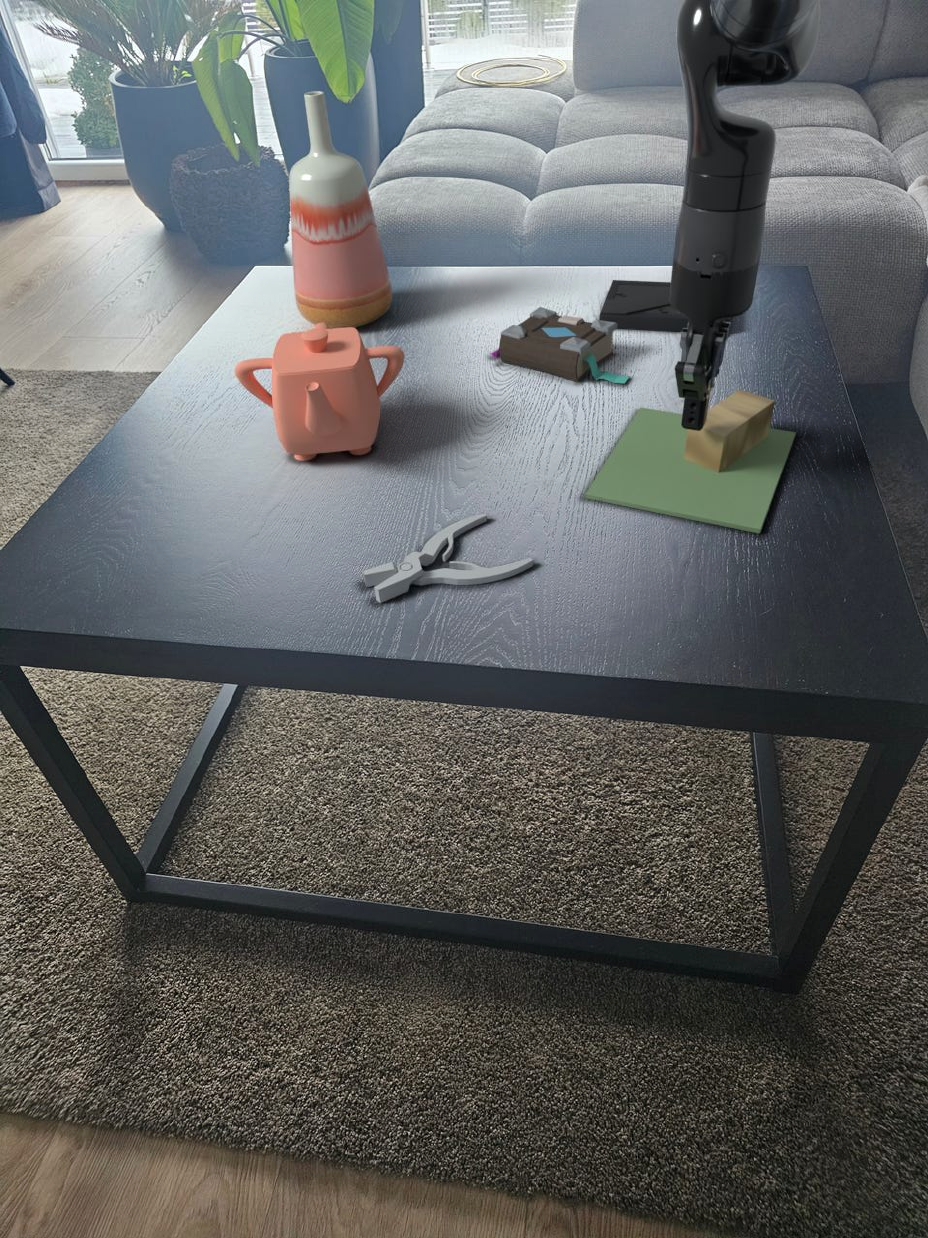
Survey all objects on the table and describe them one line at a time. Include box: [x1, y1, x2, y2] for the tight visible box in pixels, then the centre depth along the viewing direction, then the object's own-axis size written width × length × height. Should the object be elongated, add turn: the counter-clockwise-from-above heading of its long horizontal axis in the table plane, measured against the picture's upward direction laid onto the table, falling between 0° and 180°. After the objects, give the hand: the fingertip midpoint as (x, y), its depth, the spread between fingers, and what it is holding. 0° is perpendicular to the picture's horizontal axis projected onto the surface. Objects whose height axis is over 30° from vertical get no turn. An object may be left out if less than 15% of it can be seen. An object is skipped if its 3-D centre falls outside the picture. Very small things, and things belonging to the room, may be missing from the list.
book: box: [490, 306, 630, 384], centre depth 114 cm, size 20×12×5 cm, turn 54°
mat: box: [584, 407, 797, 535], centre depth 93 cm, size 18×20×1 cm
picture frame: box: [598, 279, 689, 333], centre depth 124 cm, size 13×2×18 cm
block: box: [684, 388, 776, 473], centre depth 94 cm, size 4×4×10 cm
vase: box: [288, 90, 393, 329], centre depth 121 cm, size 14×14×30 cm
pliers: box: [363, 512, 534, 604], centre depth 82 cm, size 10×2×15 cm
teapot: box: [234, 323, 405, 462], centre depth 98 cm, size 17×16×13 cm
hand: (693, 426), depth 88 cm, fingers closed
